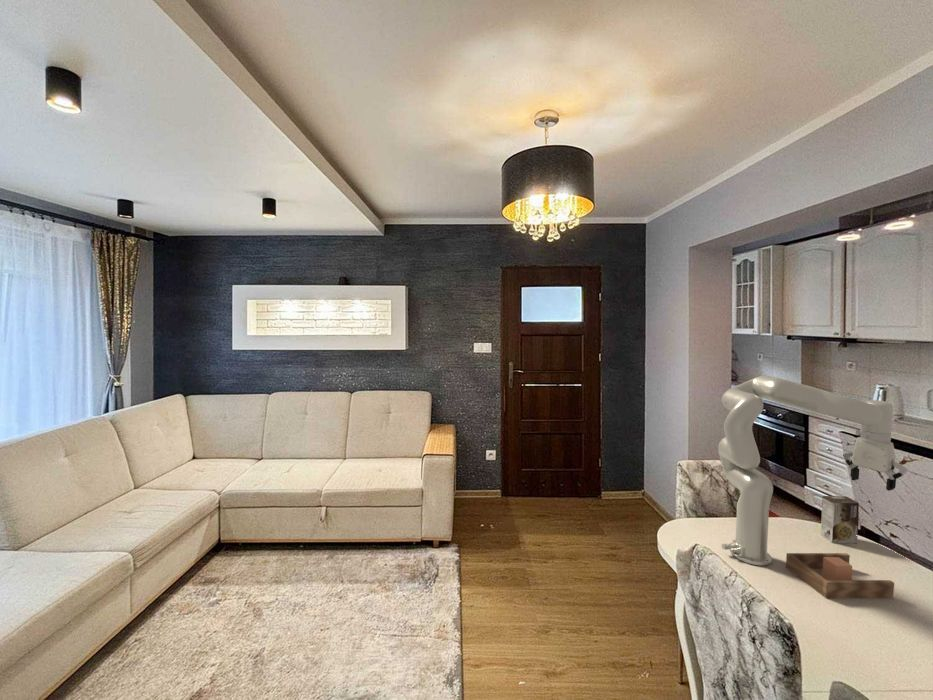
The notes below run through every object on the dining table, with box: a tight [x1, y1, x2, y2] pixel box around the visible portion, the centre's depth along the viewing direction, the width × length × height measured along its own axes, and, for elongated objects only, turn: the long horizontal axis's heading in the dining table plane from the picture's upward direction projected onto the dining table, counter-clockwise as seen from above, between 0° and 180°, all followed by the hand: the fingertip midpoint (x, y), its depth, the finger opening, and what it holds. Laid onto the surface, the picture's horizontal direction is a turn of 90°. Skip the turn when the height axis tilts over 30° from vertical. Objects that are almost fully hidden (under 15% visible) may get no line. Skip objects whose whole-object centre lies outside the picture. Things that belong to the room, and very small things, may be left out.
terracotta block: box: [821, 557, 853, 580], centre depth 138 cm, size 5×5×7 cm
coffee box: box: [820, 495, 860, 544], centre depth 164 cm, size 9×6×16 cm
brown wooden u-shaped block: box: [785, 552, 895, 599], centre depth 138 cm, size 21×16×5 cm
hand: (871, 484), depth 147 cm, fingers open, 9 cm apart
